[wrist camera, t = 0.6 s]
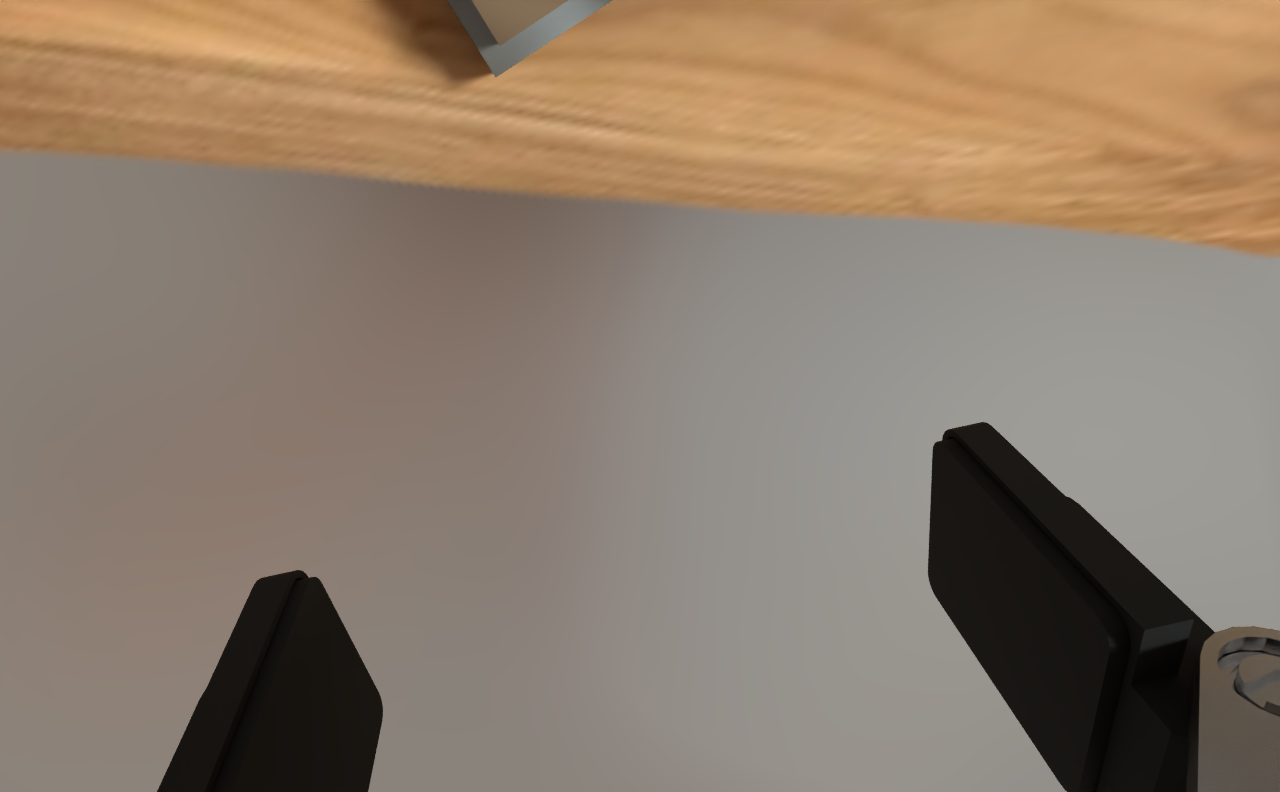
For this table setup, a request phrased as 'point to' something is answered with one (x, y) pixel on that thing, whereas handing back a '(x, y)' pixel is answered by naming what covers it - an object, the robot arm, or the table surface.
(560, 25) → the stand
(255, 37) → the table surface
